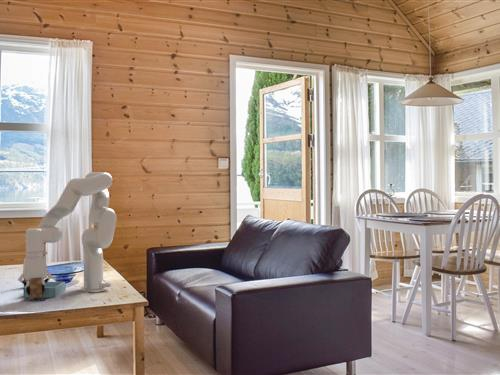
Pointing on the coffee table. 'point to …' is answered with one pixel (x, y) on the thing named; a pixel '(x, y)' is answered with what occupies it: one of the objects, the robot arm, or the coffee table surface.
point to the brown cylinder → (35, 287)
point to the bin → (51, 289)
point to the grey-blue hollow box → (34, 299)
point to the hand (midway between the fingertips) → (35, 293)
